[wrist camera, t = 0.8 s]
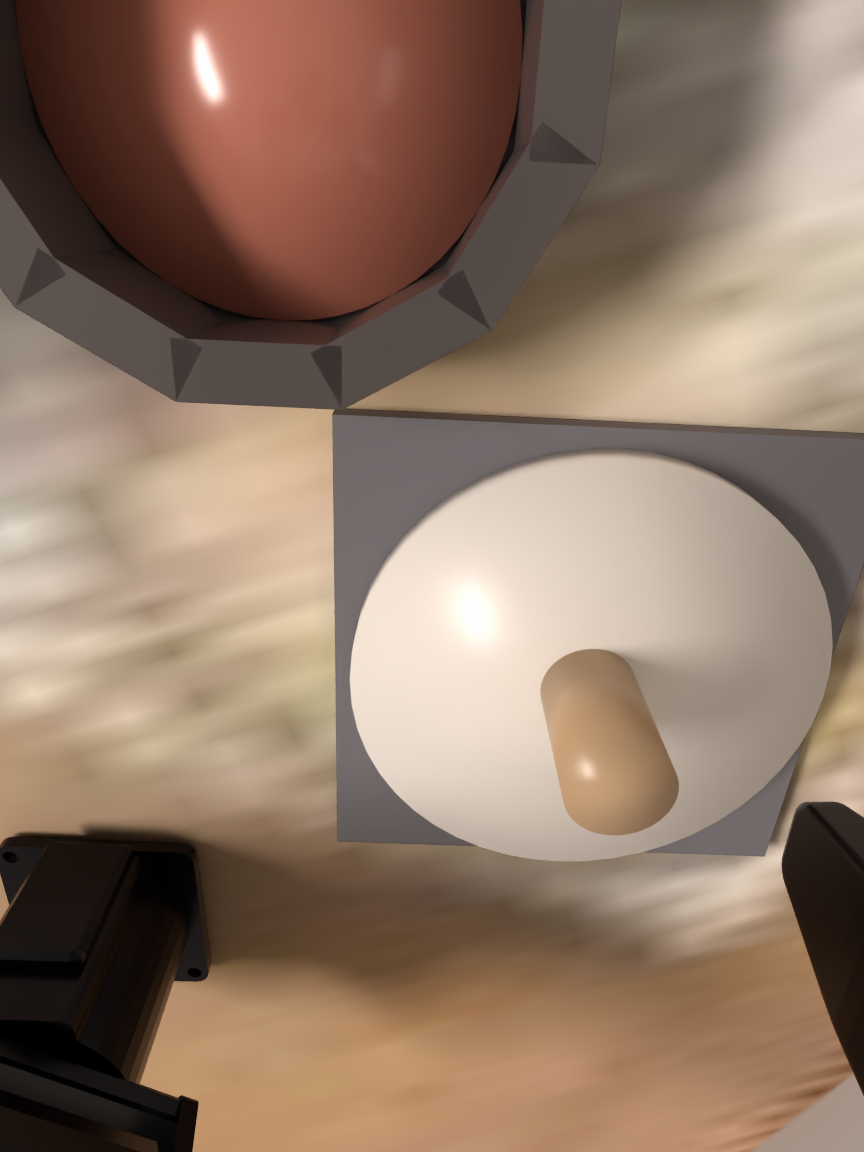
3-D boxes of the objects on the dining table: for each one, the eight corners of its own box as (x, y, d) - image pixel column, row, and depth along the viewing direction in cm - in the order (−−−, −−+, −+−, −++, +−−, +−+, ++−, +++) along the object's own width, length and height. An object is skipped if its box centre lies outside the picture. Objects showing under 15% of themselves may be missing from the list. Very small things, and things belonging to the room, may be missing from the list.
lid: (753, 844, 24) (824, 988, 20) (353, 829, 24) (334, 972, 20) (877, 460, 19) (1018, 542, 14) (353, 435, 18) (327, 511, 14)
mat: (757, 842, 25) (764, 856, 25) (339, 827, 25) (337, 841, 24) (891, 434, 19) (904, 441, 18) (335, 408, 19) (332, 414, 18)
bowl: (540, 376, 18) (566, 420, 15) (43, 352, 18) (-53, 391, 14) (618, -328, 13) (689, -530, 9) (-88, -377, 13) (-291, -601, 9)
